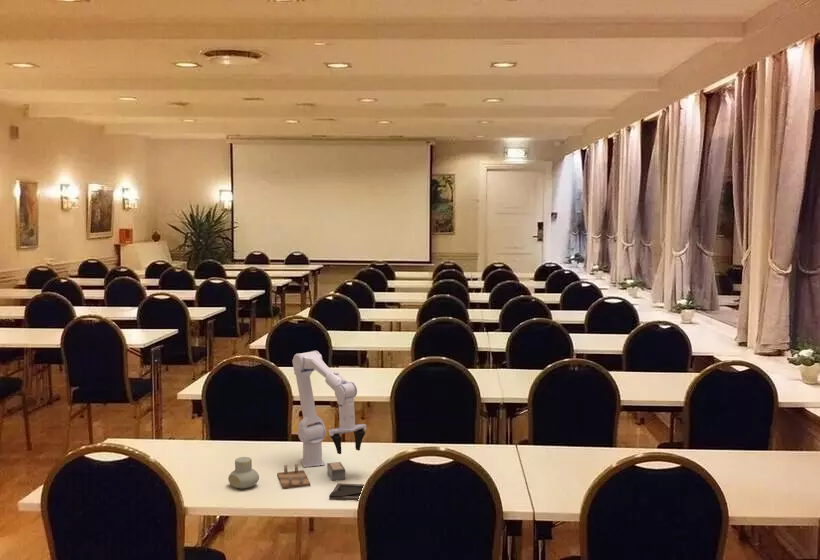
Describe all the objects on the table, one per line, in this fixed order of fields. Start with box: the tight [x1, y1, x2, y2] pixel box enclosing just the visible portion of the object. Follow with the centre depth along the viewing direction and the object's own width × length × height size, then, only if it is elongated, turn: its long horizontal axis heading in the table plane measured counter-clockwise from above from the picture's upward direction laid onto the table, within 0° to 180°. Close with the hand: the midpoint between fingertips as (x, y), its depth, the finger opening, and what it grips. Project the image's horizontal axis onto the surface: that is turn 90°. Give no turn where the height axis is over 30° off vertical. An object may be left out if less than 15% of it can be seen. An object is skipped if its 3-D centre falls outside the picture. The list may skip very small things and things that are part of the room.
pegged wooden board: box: [277, 463, 311, 490], centre depth 293 cm, size 15×10×4 cm, turn 17°
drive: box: [326, 461, 346, 482], centre depth 298 cm, size 9×5×4 cm, turn 17°
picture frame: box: [328, 482, 364, 502], centre depth 280 cm, size 13×2×18 cm
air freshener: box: [227, 456, 260, 490], centre depth 288 cm, size 11×8×10 cm
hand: (348, 451), depth 295 cm, fingers open, 7 cm apart
